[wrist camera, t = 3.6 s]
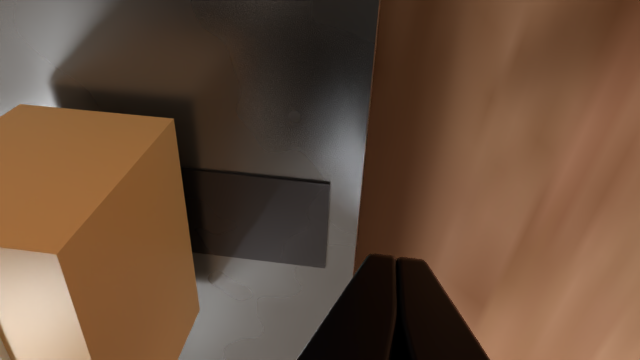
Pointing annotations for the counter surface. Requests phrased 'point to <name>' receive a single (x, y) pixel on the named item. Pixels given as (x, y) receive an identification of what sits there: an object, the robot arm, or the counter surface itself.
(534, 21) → the counter surface
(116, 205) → the fader tab
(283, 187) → the console
